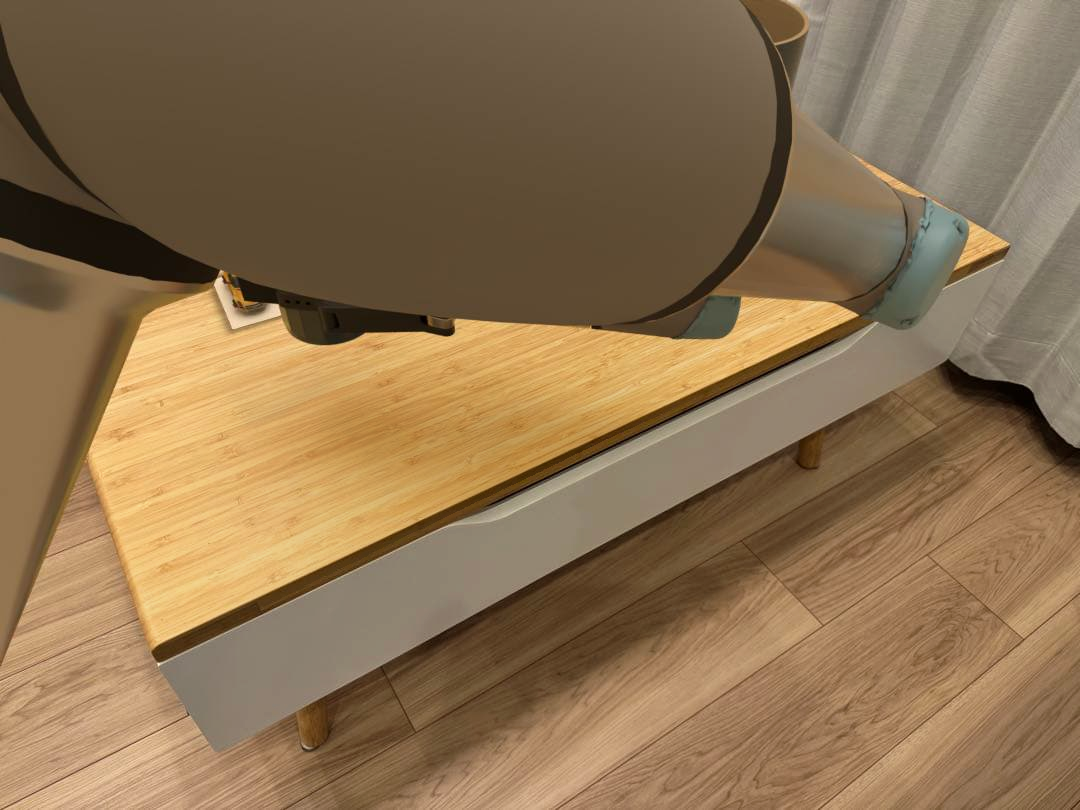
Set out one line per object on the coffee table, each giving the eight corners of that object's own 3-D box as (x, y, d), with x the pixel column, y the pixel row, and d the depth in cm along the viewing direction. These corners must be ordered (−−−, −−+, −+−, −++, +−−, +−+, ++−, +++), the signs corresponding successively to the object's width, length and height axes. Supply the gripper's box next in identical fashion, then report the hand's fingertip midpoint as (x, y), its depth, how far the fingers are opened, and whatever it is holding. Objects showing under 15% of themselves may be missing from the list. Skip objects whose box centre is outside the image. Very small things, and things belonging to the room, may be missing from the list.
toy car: (237, 318, 85) (232, 301, 83) (219, 276, 90) (214, 259, 88) (275, 307, 86) (270, 290, 84) (255, 267, 91) (250, 250, 90)
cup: (364, 350, 64) (343, 236, 56) (270, 340, 65) (236, 226, 57) (389, 291, 70) (373, 179, 62) (302, 283, 70) (275, 171, 62)
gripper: (522, 403, 57) (223, 372, 59) (552, 242, 72) (312, 221, 73) (523, 324, 52) (193, 293, 53) (555, 168, 66) (296, 147, 68)
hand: (262, 251), depth 63 cm, fingers closed on cup, 8 cm apart
